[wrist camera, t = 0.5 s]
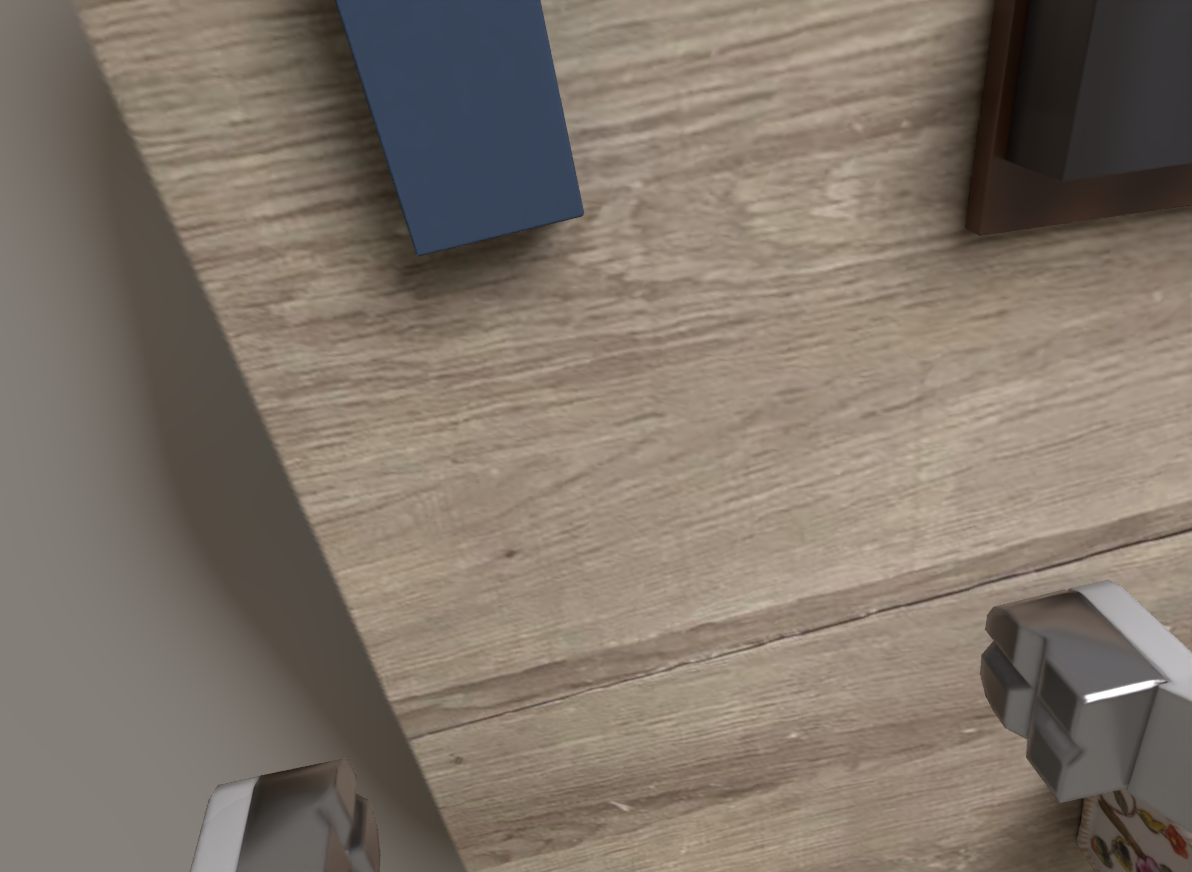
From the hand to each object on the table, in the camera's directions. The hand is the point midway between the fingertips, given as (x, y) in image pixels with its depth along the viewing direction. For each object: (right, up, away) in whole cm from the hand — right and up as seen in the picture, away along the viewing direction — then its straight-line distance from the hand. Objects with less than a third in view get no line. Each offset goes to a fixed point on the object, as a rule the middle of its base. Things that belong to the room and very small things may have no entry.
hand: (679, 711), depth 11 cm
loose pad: (-5, +15, +14) cm, 21 cm away
